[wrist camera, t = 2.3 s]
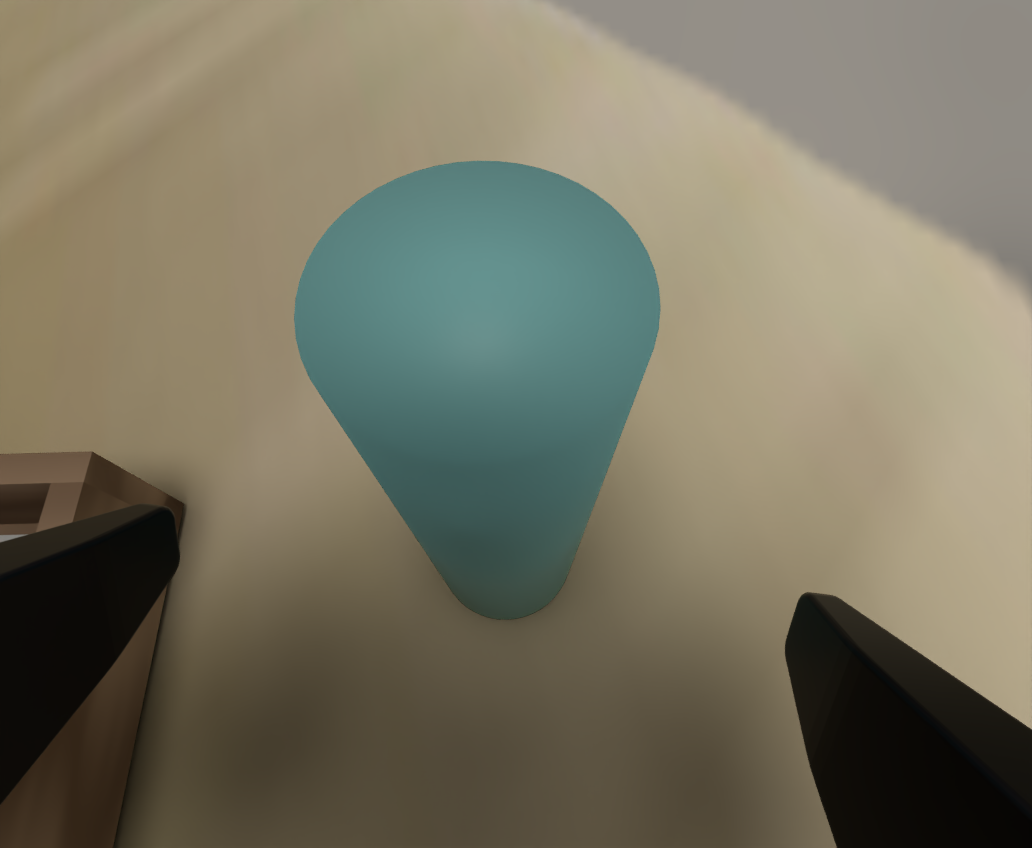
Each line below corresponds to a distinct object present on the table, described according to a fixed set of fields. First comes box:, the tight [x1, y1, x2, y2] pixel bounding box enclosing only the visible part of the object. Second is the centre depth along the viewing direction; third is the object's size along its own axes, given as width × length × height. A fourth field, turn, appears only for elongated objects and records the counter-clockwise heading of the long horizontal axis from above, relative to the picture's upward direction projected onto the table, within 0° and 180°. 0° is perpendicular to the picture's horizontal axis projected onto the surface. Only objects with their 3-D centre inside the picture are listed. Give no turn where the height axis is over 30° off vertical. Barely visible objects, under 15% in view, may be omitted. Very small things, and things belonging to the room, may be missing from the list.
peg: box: [294, 161, 660, 619], centre depth 13 cm, size 4×4×13 cm
